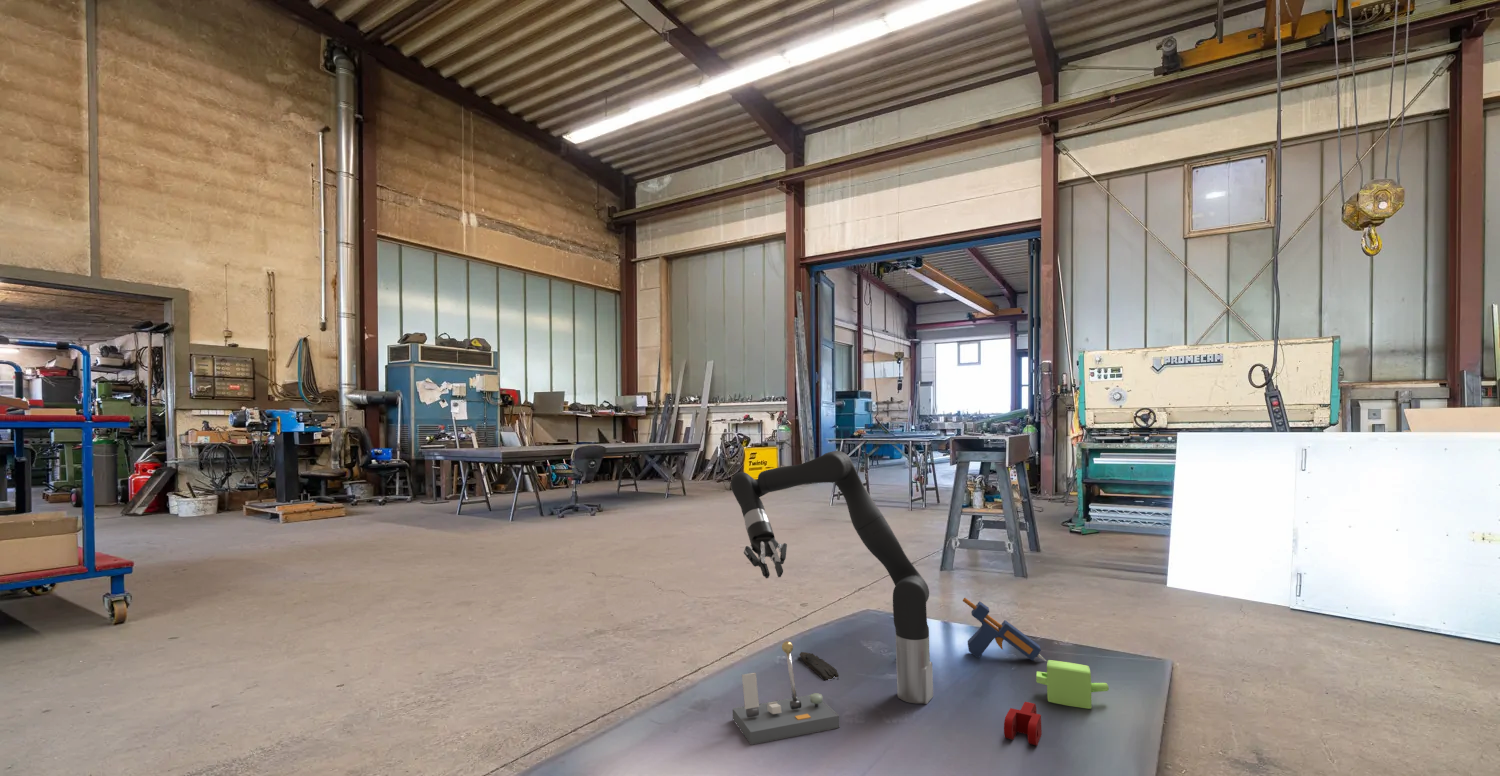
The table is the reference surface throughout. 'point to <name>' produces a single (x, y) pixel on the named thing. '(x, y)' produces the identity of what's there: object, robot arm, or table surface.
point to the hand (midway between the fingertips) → (774, 575)
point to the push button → (816, 699)
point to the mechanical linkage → (1023, 723)
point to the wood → (819, 665)
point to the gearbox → (1069, 684)
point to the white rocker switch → (774, 707)
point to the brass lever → (791, 675)
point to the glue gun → (998, 634)
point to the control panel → (785, 720)
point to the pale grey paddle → (750, 694)
